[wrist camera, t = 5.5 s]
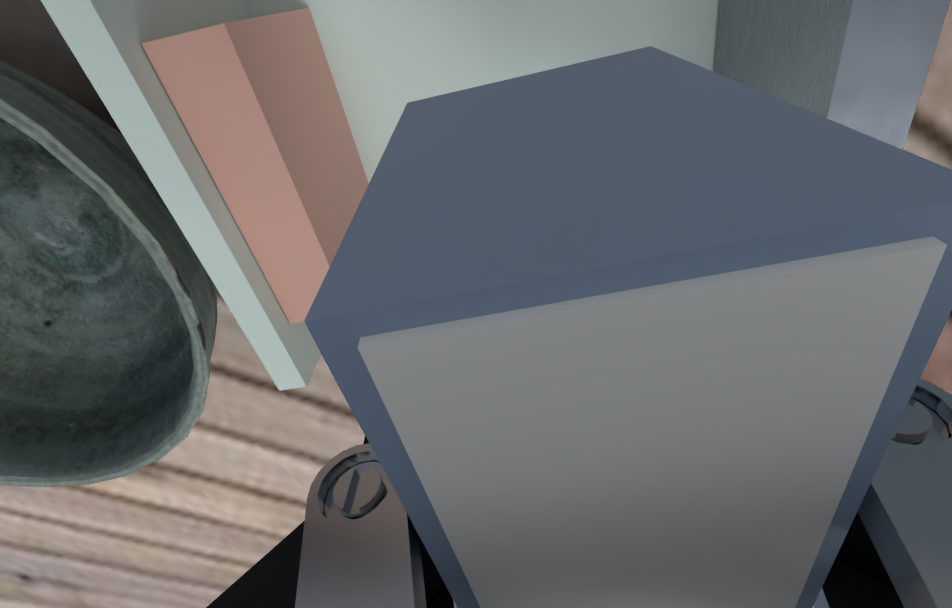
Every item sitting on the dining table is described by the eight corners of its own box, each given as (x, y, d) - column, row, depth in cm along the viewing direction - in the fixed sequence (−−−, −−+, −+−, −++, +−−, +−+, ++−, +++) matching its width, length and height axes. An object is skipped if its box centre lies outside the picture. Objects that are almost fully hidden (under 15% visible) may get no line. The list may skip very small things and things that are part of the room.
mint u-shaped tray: (798, -163, 17) (1087, -289, 9) (747, 196, 25) (877, 301, 17) (215, -15, 20) (35, -9, 12) (336, 269, 27) (279, 390, 19)
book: (651, 45, 7) (1024, 199, 2) (649, 419, 13) (768, 716, 8) (407, 102, 8) (298, 331, 3) (502, 441, 13) (522, 735, 8)
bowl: (-205, 188, 25) (-546, 293, 16) (-65, -164, 17) (-567, -296, 9) (163, 402, 34) (63, 538, 26) (361, 234, 26) (309, 352, 18)
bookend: (794, -78, 18) (986, -110, 11) (760, 158, 23) (876, 232, 16) (725, -61, 18) (871, -83, 11) (706, 168, 23) (799, 244, 16)
